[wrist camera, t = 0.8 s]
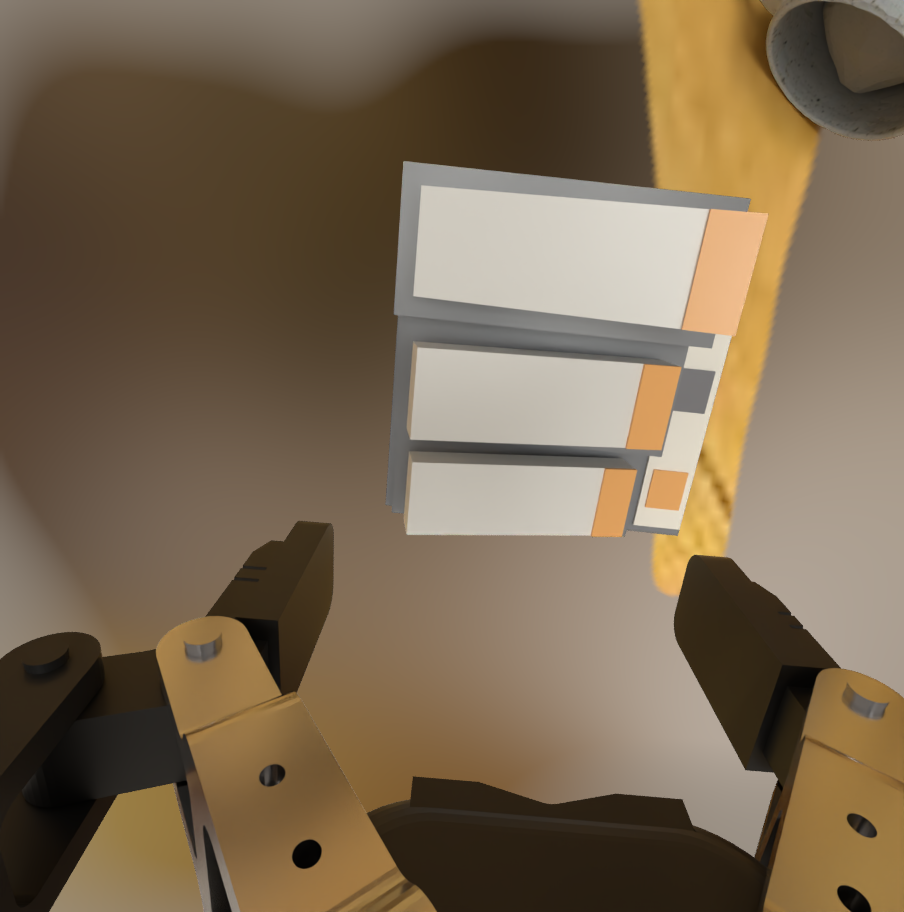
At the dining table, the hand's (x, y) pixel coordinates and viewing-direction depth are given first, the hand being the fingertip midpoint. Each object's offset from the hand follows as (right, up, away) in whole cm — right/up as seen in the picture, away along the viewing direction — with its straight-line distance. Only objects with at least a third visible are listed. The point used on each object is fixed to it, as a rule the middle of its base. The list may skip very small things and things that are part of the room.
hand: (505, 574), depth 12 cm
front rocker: (+3, +10, +8) cm, 14 cm away
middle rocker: (+3, +5, +13) cm, 14 cm away
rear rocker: (+2, +1, +17) cm, 17 cm away
